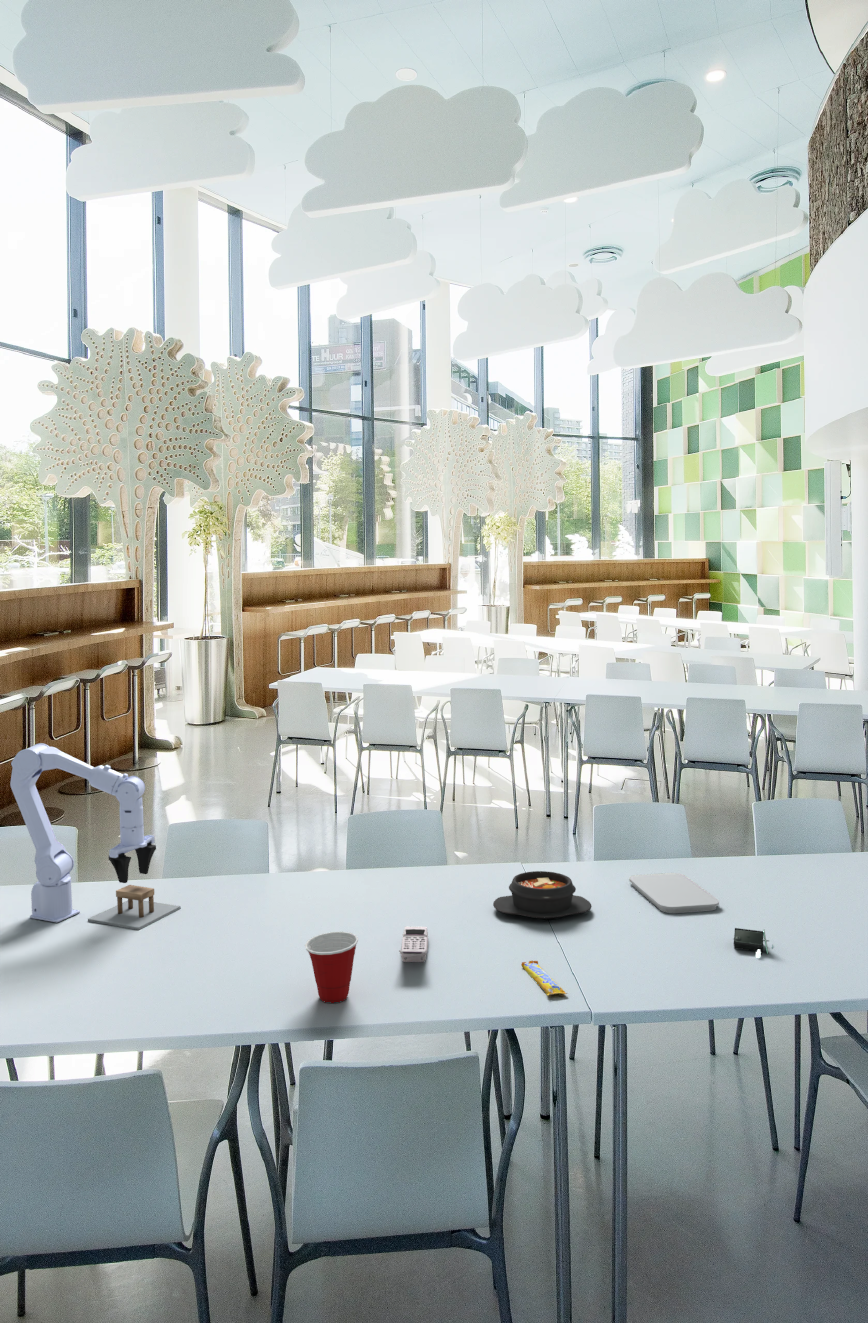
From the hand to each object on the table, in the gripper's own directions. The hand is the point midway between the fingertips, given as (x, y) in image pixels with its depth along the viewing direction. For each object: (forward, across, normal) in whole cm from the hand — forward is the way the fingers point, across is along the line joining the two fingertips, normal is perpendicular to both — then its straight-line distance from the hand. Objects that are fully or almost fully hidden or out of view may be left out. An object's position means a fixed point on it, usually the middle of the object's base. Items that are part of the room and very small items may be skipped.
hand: (133, 877), depth 235 cm
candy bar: (+10, 0, -108) cm, 108 cm away
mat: (+10, 0, 0) cm, 10 cm away
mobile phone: (+10, +4, -77) cm, 77 cm away
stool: (+9, 0, 0) cm, 9 cm away
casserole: (+10, +40, -96) cm, 105 cm away
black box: (+10, +35, -146) cm, 151 cm away
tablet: (+10, +64, -125) cm, 141 cm away
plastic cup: (+10, -23, -70) cm, 74 cm away
